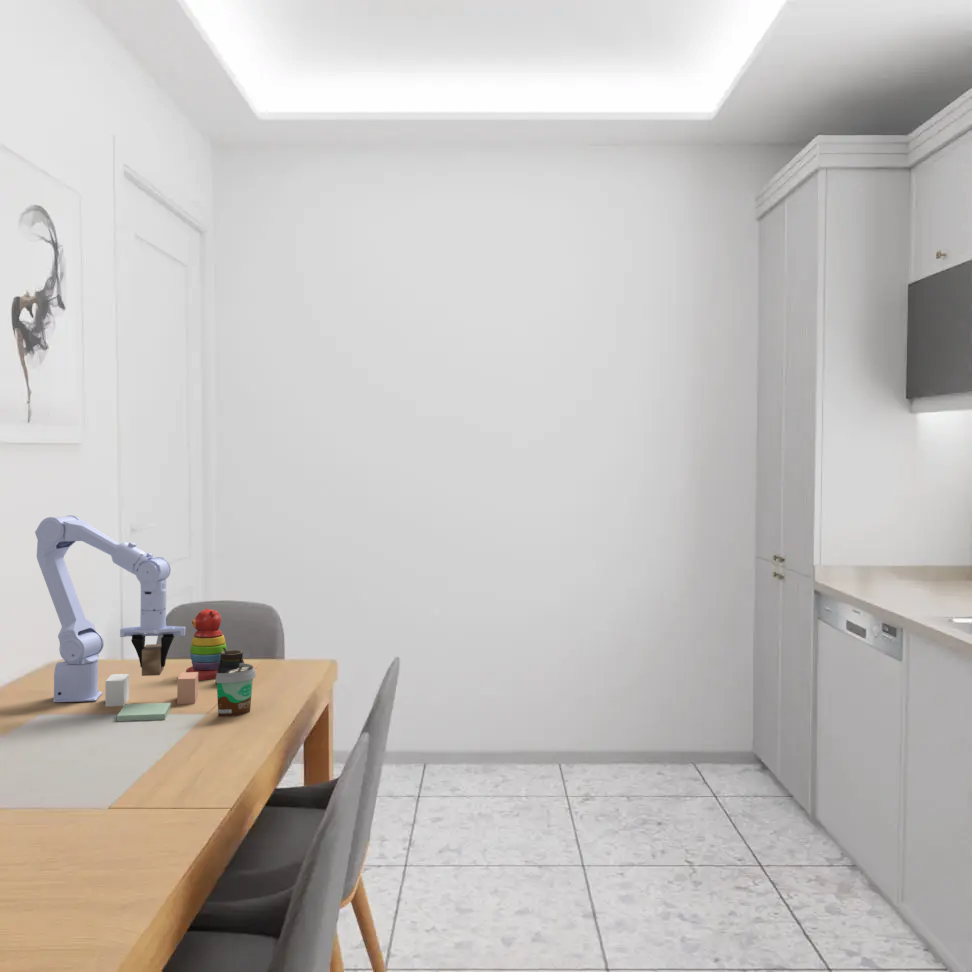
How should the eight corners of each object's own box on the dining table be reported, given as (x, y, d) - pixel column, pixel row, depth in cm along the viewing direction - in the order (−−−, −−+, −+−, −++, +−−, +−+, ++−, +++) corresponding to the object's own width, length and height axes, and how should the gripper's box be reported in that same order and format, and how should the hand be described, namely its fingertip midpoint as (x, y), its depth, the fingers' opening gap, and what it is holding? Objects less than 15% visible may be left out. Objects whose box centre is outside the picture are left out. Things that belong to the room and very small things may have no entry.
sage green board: (117, 721, 203) (117, 715, 203) (125, 709, 213) (125, 704, 213) (164, 719, 205) (164, 714, 205) (170, 707, 215) (170, 702, 215)
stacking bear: (184, 672, 251) (185, 607, 251) (222, 669, 256) (223, 605, 255) (189, 681, 242) (190, 613, 241) (229, 678, 246) (230, 611, 245)
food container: (240, 720, 206) (241, 675, 206) (215, 718, 207) (215, 673, 207) (264, 706, 218) (265, 663, 218) (240, 704, 219) (240, 662, 219)
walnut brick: (141, 675, 217) (141, 650, 217) (146, 669, 223) (146, 644, 223) (159, 675, 217) (159, 649, 217) (163, 668, 224) (163, 644, 224)
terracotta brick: (177, 704, 219) (177, 678, 219) (180, 696, 226) (181, 672, 226) (194, 703, 220) (195, 678, 220) (198, 696, 227) (198, 672, 226)
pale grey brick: (105, 706, 216) (105, 681, 216) (111, 699, 223) (111, 674, 222) (123, 706, 216) (123, 680, 216) (128, 698, 223) (129, 673, 223)
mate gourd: (250, 679, 245) (250, 642, 244) (239, 686, 237) (240, 647, 237) (223, 678, 245) (224, 640, 245) (212, 685, 238) (212, 646, 237)
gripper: (117, 612, 215) (117, 670, 215) (183, 611, 218) (182, 668, 218) (123, 607, 222) (122, 664, 222) (186, 606, 225) (186, 662, 225)
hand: (152, 666), depth 220 cm, fingers closed on walnut brick, 4 cm apart
